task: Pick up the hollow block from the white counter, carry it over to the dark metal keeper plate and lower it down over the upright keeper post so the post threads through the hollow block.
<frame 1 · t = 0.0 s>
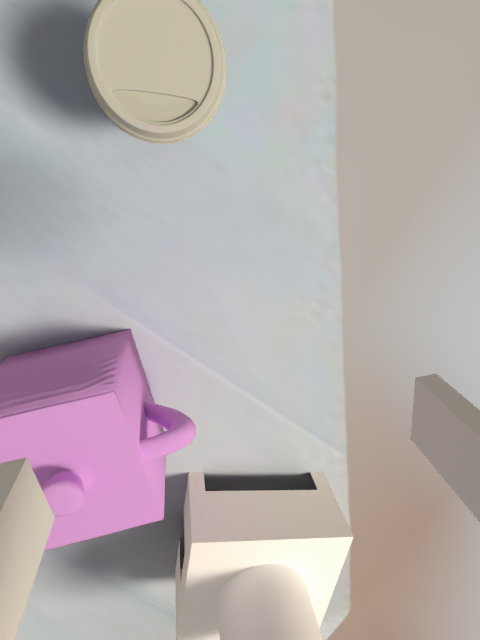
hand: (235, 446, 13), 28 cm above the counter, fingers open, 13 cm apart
teapot: (83, 401, 43), on the counter
coffee cup: (161, 92, 33), on the counter
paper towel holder: (246, 520, 55), on the counter
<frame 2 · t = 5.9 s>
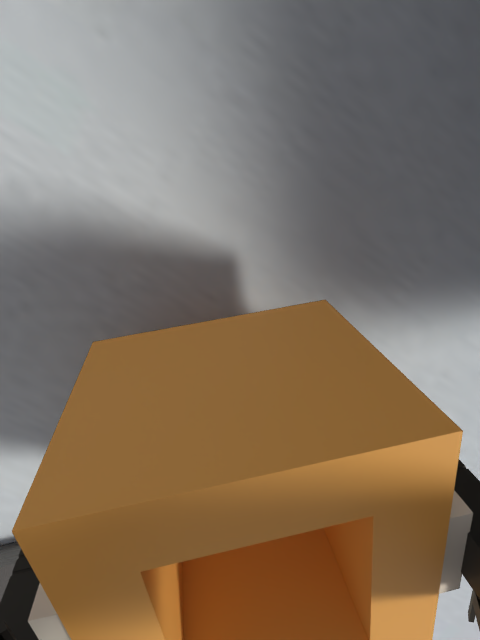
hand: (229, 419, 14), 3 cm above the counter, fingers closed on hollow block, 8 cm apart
hollow block: (228, 414, 15), point 3 cm above the counter, touching gripper
keeper: (81, 606, 22), on the counter
when the fingers open (3 cm above the counter, at t = 10.7 s): hollow block drops 1 cm, resting on keeper.
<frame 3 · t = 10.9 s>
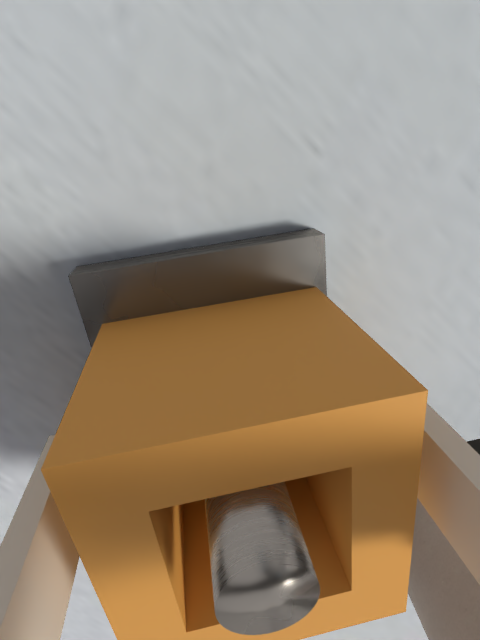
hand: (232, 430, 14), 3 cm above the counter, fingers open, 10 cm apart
coffee cup 2: (429, 510, 23), on the counter
hollow block: (226, 394, 16), point 1 cm above the counter, touching keeper
keeper: (221, 380, 17), on the counter
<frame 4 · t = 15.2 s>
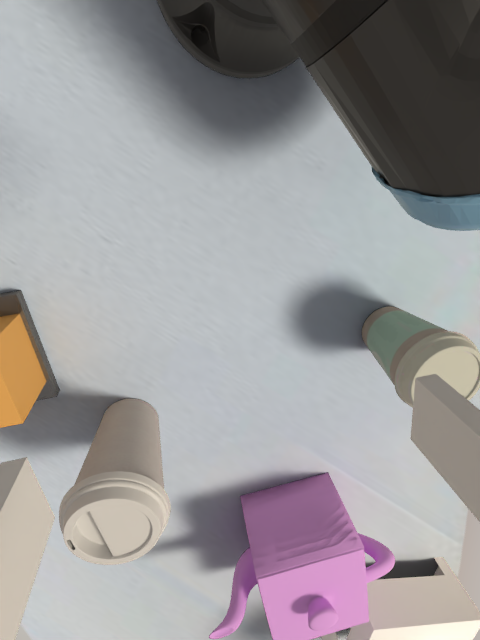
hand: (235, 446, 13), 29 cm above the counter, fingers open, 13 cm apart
coffee cup 2: (131, 419, 46), on the counter
teapot: (283, 520, 57), on the counter
coffee cup: (383, 327, 47), on the counter
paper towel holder: (379, 593, 69), on the counter
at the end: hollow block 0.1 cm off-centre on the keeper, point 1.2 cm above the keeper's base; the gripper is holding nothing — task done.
